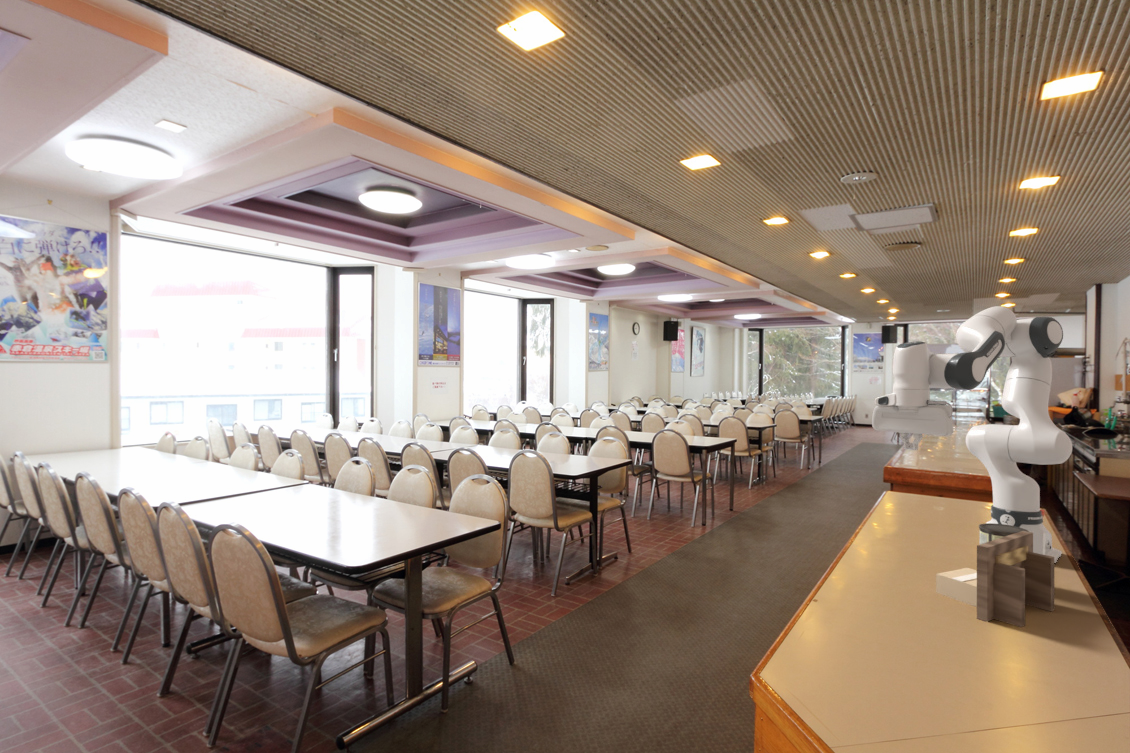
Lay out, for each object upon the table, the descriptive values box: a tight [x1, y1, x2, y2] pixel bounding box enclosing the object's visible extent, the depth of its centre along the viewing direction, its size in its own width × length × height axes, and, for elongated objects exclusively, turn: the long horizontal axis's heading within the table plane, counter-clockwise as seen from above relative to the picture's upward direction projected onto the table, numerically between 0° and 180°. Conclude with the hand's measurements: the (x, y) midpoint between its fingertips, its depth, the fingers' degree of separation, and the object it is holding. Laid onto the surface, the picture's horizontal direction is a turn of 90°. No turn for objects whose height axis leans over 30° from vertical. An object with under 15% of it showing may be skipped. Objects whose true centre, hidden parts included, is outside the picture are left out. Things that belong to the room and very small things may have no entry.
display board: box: [976, 531, 1055, 628], centre depth 129 cm, size 24×7×16 cm, turn 122°
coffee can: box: [978, 522, 1029, 545], centre depth 148 cm, size 10×10×14 cm
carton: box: [935, 567, 977, 608], centre depth 138 cm, size 12×10×5 cm
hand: (910, 449), depth 158 cm, fingers closed
